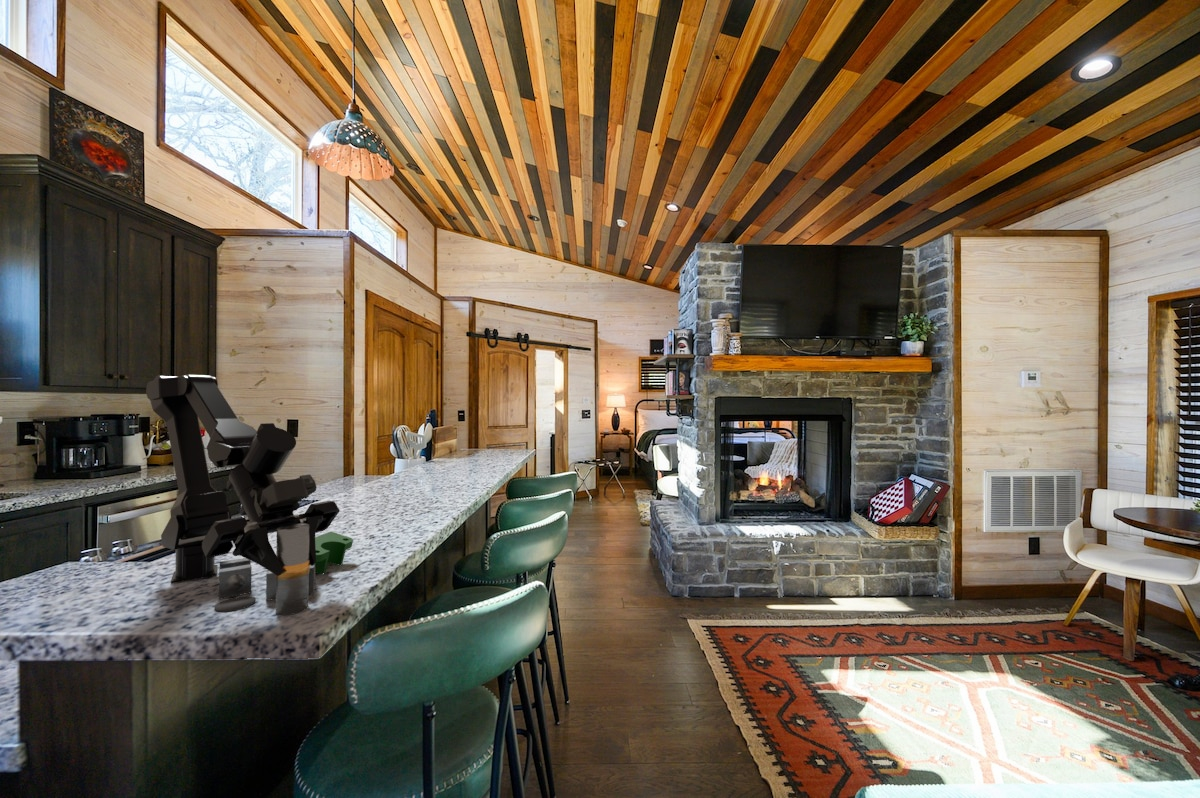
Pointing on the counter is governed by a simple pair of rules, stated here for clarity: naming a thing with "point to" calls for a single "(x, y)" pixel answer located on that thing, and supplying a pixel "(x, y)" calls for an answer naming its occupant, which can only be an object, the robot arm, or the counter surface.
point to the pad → (234, 603)
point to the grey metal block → (234, 577)
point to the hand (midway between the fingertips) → (297, 568)
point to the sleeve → (292, 569)
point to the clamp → (330, 549)
